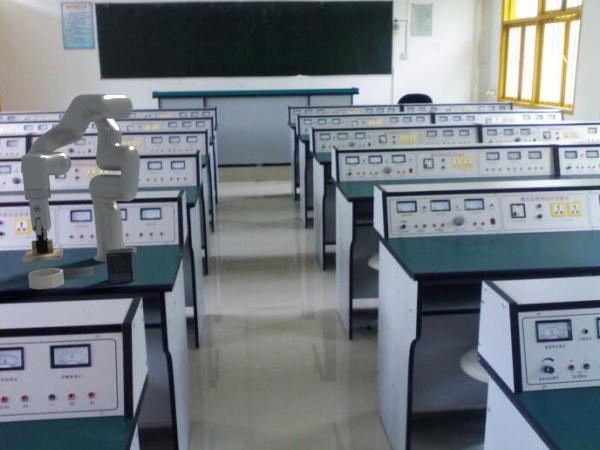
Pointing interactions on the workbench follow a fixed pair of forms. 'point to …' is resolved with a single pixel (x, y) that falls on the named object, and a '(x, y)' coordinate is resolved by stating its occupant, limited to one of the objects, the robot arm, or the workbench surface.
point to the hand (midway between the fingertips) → (43, 251)
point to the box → (120, 265)
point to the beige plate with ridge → (50, 255)
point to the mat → (78, 272)
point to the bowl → (46, 278)
